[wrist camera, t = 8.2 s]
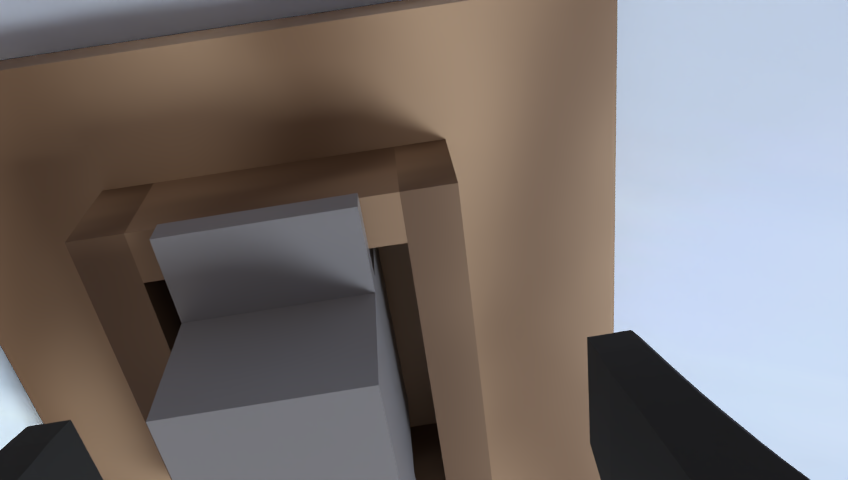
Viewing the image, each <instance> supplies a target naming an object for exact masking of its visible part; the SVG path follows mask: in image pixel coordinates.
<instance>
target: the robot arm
mask: <svg viewBox="0 0 848 480" xmlns="http://www.w3.org/2000/svg"><path fill="white" fill-rule="evenodd" d="M587 354H588V391H589V427H590V445H591V448H592V452H593V455H594V458H595V462H596V465H597V468H598V472H599V475H600V479H601V480H810V479H809V478H807V477H806V476H805V475H803V474H802V473H801V472H799V471H798V470H796V469H795V468H794V467H792V466H791V465H790V464H788V463H787V462H786V461H784V460H783V459H782V458H781V457H779V456H778V455H777V454H775V453H774V452H773V451H772V450H770V449H769V448H768V447H766V446H765V445H764V444H763V443H761V442H760V441H759V440H758V439H756V438H755V437H754V436H753V435H752V434H750V433H749V432H748V431H747V430H745V429H744V428H743V427H742V426H741V425H739V424H738V423H737V422H736V421H734V420H733V419H732V418H731V417H730V416H728V415H727V414H726V413H725V412H723V411H722V410H721V409H720V408H719V407H718V406H716V405H715V404H714V403H713V402H712V401H711V400H709V399H708V398H707V397H706V396H705V395H704V394H702V393H701V392H700V391H699V390H698V389H697V388H696V387H694V386H693V385H692V384H691V383H690V382H689V381H688V380H686V379H685V378H684V377H683V376H682V375H681V374H680V373H679V372H678V371H676V370H675V369H674V368H673V367H672V366H671V365H670V364H669V363H668V362H666V361H665V360H664V359H663V358H662V357H661V356H660V355H659V354H658V353H657V352H656V351H655V350H653V349H652V348H651V347H650V346H649V345H648V344H647V343H646V342H645V341H644V340H643V339H641V338H640V337H639V336H638V335H637V334H635V333H634V332H633V331H631V330H629V331H623V332H616V333H610V334H604V335H598V336H591V337H587ZM0 480H103V478H102V476H101V475H100V473H99V471H98V469H97V467H96V465H95V464H94V462H93V460H92V458H91V456H90V454H89V452H88V451H87V449H86V447H85V445H84V443H83V441H82V439H81V438H80V436H79V434H78V432H77V430H76V428H75V426H74V425H73V423H72V421H71V420H66V421H59V422H53V423H47V424H41V425H34V426H28V427H26V428H25V429H24V430H23V431H22V432H21V433H19V434H18V435H17V436H16V437H15V438H14V439H12V440H11V441H10V442H9V443H8V444H7V445H6V446H5V447H4V448H2V449H1V450H0Z"/></svg>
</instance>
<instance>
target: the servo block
mask: <svg viewBox="0 0 848 480" xmlns="http://www.w3.org/2000/svg"><path fill="white" fill-rule="evenodd" d="M149 240H150V242H151V245H152V248H153V250H154V253H155V255H156V258H157V261H158V263H159V266H160V268H161V271H162V274H163V276H164V279H165V281H166V284H167V287H168V289H169V292H170V294H171V297H172V300H173V302H174V305H175V307H176V310H177V313H178V315H179V318H180V320H181V323H182V324H181V326H180V329H179V332H178V335H177V337H176V340H175V343H174V346H173V348H172V351H171V354H170V357H169V359H168V362H167V365H166V368H165V370H164V373H163V376H162V379H161V381H160V384H159V387H158V390H157V392H156V395H155V398H154V401H153V403H152V406H151V409H150V412H149V414H148V417H147V420H146V424H147V426H148V428H149V430H150V432H151V435H152V437H153V439H154V441H155V443H156V445H157V448H158V450H159V452H160V454H161V456H162V459H163V461H164V463H165V465H166V467H167V469H168V472H169V474H170V476H171V478H172V480H416V478H415V474H414V464H413V453H412V442H411V430H410V419H409V408H408V399H407V394H406V389H405V384H404V379H403V373H402V368H401V363H400V358H399V353H398V348H397V343H396V338H395V332H394V327H393V322H392V317H391V312H390V307H389V302H388V297H387V291H386V286H385V281H384V276H383V271H382V266H381V261H380V256H379V250H378V247H376V248H370V249H369V247H368V242H367V237H366V232H365V227H364V222H363V217H362V212H361V207H360V202H359V197H358V193H354V194H348V195H342V196H335V197H329V198H323V199H316V200H310V201H303V202H297V203H291V204H284V205H278V206H272V207H265V208H259V209H253V210H246V211H240V212H233V213H227V214H221V215H214V216H208V217H202V218H195V219H189V220H183V221H176V222H170V223H164V224H157V226H156V228H155V230H154V232H153V234H152V236H151V237H150V239H149Z"/></svg>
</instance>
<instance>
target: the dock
mask: <svg viewBox="0 0 848 480" xmlns="http://www.w3.org/2000/svg"><path fill="white" fill-rule="evenodd" d="M616 69H617V0H402V1H395V2H389V3H382V4H375V5H368V6H362V7H355V8H348V9H342V10H335V11H328V12H322V13H315V14H308V15H302V16H295V17H288V18H281V19H275V20H268V21H261V22H255V23H248V24H241V25H235V26H228V27H221V28H215V29H208V30H201V31H194V32H188V33H181V34H174V35H168V36H161V37H154V38H148V39H141V40H134V41H128V42H121V43H114V44H107V45H101V46H94V47H87V48H81V49H74V50H67V51H61V52H54V53H47V54H41V55H34V56H27V57H21V58H14V59H7V60H0V345H1V347H2V349H3V351H4V352H5V354H6V356H7V358H8V360H9V362H10V363H11V365H12V367H13V369H14V371H15V372H16V374H17V376H18V378H19V380H20V382H21V383H22V385H23V387H24V389H25V391H26V392H27V394H28V396H29V398H30V400H31V402H32V403H33V405H34V407H35V409H36V411H37V412H38V414H39V416H40V418H41V420H42V421H43V423H44V424H47V423H53V422H59V421H66V420H71V421H72V423H73V425H74V426H75V428H76V430H77V432H78V434H79V436H80V438H81V439H82V441H83V443H84V445H85V447H86V449H87V451H88V452H89V454H90V456H91V458H92V460H93V462H94V464H95V465H96V467H97V469H98V471H99V473H100V475H101V476H102V478H103V480H172V478H171V476H170V474H169V472H168V469H167V467H166V465H165V463H164V461H163V459H162V456H161V454H160V452H159V450H158V448H157V445H156V443H155V441H154V439H153V437H152V435H151V432H150V430H149V428H148V426H147V424H146V420H147V417H148V414H149V412H150V409H151V406H152V403H153V401H154V398H155V395H156V392H157V390H158V387H159V384H160V381H161V379H162V376H163V373H164V370H165V368H166V365H167V362H168V359H169V357H170V354H171V351H172V348H173V346H174V343H175V340H176V337H177V335H178V332H179V329H180V326H181V324H182V323H181V320H180V318H179V315H178V313H177V310H176V307H175V305H174V302H173V300H172V297H171V294H170V292H169V289H168V287H167V284H166V281H165V279H164V276H163V274H162V271H161V268H160V266H159V263H158V261H157V258H156V255H155V253H154V250H153V248H152V245H151V242H150V240H149V239H150V237H151V236H152V234H153V232H154V230H155V228H156V226H157V224H164V223H170V222H176V221H183V220H189V219H195V218H202V217H208V216H214V215H221V214H227V213H233V212H240V211H246V210H253V209H259V208H265V207H272V206H278V205H284V204H291V203H297V202H303V201H310V200H316V199H323V198H329V197H335V196H342V195H348V194H354V193H358V197H359V202H360V207H361V212H362V217H363V222H364V227H365V232H366V237H367V242H368V247H369V249H370V248H376V247H378V250H379V256H380V261H381V266H382V271H383V276H384V281H385V286H386V291H387V297H388V302H389V307H390V312H391V317H392V322H393V327H394V332H395V338H396V343H397V348H398V353H399V358H400V363H401V368H402V373H403V379H404V384H405V389H406V394H407V399H408V408H409V419H410V430H411V442H412V453H413V464H414V474H415V478H416V480H601V479H600V475H599V472H598V468H597V465H596V462H595V458H594V455H593V452H592V448H591V445H590V427H589V391H588V354H587V337H591V336H598V335H604V334H610V333H613V329H614V242H615V156H616Z"/></svg>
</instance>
